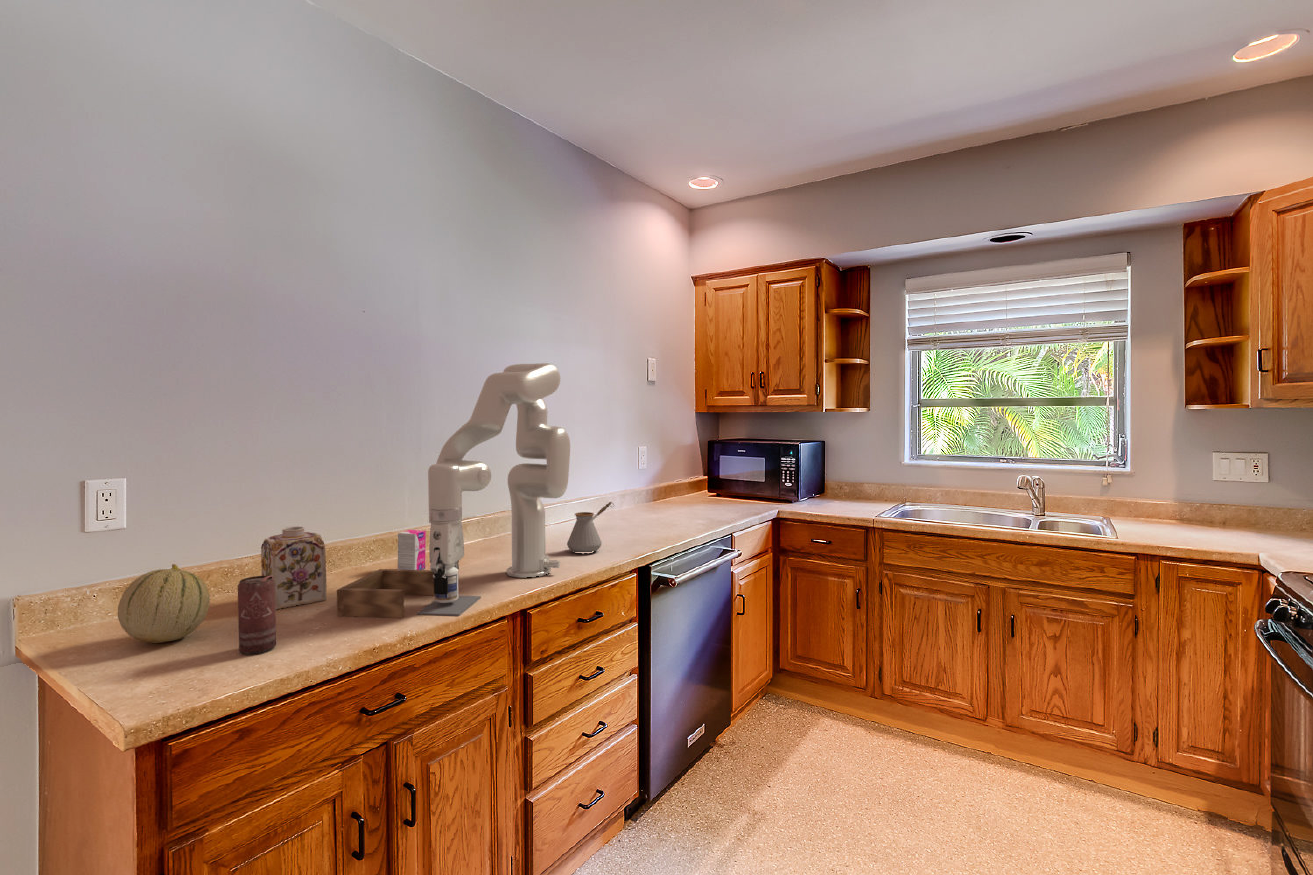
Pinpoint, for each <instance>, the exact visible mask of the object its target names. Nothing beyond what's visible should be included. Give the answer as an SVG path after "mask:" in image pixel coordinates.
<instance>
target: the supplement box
mask: <svg viewBox="0 0 1313 875" xmlns="http://www.w3.org/2000/svg"><path fill="white" fill-rule="evenodd" d="M426 532H427V530H419V529H418V530H417V529H408V530H404V531H401V532H400V531H399V532H397V570H426V541H427V540H426V538H427V537H426V536H427V533H426Z"/></svg>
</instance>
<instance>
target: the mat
mask: <svg viewBox="0 0 1313 875" xmlns="http://www.w3.org/2000/svg"><path fill="white" fill-rule="evenodd" d="M481 598H482V596H481V595H458V599H457V600H456V601H453V602H448V603H440V602H436V601H435V600H433V601H432V602H430V603H429V604H427V605H426V606H425V607H423V608H422V609H420V610H419V611H417V612H416V615H417V616H418V615H421V616H446V617H447V616H449V617H450V616H451V617H452V616H455V617H456V616H457V617H459V616H461V615H462V614H463V613H465V612H466V611H467V610H469V608H471V607H472V606H473V605H474V604H476V602H478V601H479V600H480V599H481Z"/></svg>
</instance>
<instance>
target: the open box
mask: <svg viewBox="0 0 1313 875" xmlns="http://www.w3.org/2000/svg"><path fill="white" fill-rule="evenodd" d="M405 595H406V596H407V595H410V596H411V595H413V596H435V594H434V578H433V573H432V570H431V569H430V570H429V569H428V570H427V569H422V570H398V569H397V568H396V569H393V568H391V569H388V568H385V569H384V568H380V569H378V570H375V571H374V572H371V573H369V574H367V575H365V576H363V577H360V578H359V579H357V580H355V581H352V582H350V583H348V584H346V585H344V586H342V587H340V588H338V589H336V615H337V617H354V616H357V617H359V618H360V617H361V618H366V617H367V618H390V619H391V618H394V619H395V618H396V619H402V618H403V617H404V616H405V604H404V603H405ZM357 617H356V618H357Z"/></svg>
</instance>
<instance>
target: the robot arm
mask: <svg viewBox="0 0 1313 875" xmlns="http://www.w3.org/2000/svg"><path fill="white" fill-rule="evenodd" d="M560 384H561V373H560V371H559V370H558V367H556V365H554V364H552V363H545V362H544V363H543V362H542V363H518V364H511V365H508V366H507V367H505V368H504V369H503V371H502V372H496V373H492V374H490V375H489V376H487V378H486V379H485V381H484V383H483V386H482V388H481V391H480V393H479V396H478V398H477V401H476V403H475V406H474V408H473V411H472V413H471V416H470V419H468V421H467V422H466V423H464V424H463V425H462V426H461V427H460V428H459V429H458V430H456V431H455V433H453V434H452V435H451V436H450V437H449V438H448V439H447V441H446V442H445V443H444V445H443V446H442V448H441V450H440V452H439V456H437V461H436V462H435V463H434V464H432V465H430V466H428V470H427V471H428V472H427V474H428V475H427V478H428V480H427V481H428V484H427V486H428V489H427V490H428V492H427V493H428V523H429V524H430V529H429V530H430V531H429V542H428V545H429V547H428V548H429V549H428V550H429V551H428V552H429V554H428V555H429V563H430V566H429V569H430V570H432V573H433V578H434V594H436V595H446V594H448V577H446V574H447V566H450V565H452V564H454V563H455V565H454V567H455V568H457V569H458V570H459V569H460V565H459V562H460V560H462V559H463V558H464V556H465V542H464V530H463V528H464V527H463V523H462V521H463V500H462V499H463V496H462V495H463V492H479V491H482V490H484V489H485V488H486V487H488V485H489V484H490V483H491V480H492V479H491V478H492V472H491V469H490V467H489V466H488V465H487V464H486V463H484V462H482V461H478V460H466V459H465V460H463V459H464V457H465V456H466V455H467V453H468V452H470V450H472V449H473V448H475V447H476V446H478V445H479V444H482V443H484V442H486V441H488V440H491V439H493V438H495V437H497V436H499V435H500V434H501V433H502V431H503V428H504V425H505V422H506V420H507V417H508V415H509V411H510V409H511V407H512V405H516V409H517V422H516V433H515V434H516V435H515V450H516V453H517V455H518V456H520V457H522V458H523V459H529V460H532V459H533V460H545V461H546V464H545V463H544V464H543V463H542V464H541V463H530V462H529V463H519V464H516V465H514V466H513V467H512V468H511V469H510V470H509V471H508V475H507V486H508V487H507V488H508V491H509V492H508V493H509V497H510V498H509V499H510V504H511V505H510V506H511V507H510V508H511V566H509V567H508V568H506V571H505V572H506V573H505V574H507V576H509V577H511V578H519V579H520V578H521V579H528V578H527V577H532V578H537V577H536V576H539V577H542V576H543V577H544V576H546V574H547V575H549V574H550V573H551V572H550V571H552V569H560V567H561V562H560V560H557V559H549V555H548V554H546V511H545V507H544V504H543V502H542V501H541V498H543V499H558V498H561V497H563V495H564V494H566V491H567V489H568V483H569V475H570V457H571V455H570V454H571V441H570V437H569V434H568V432H567V431H566V430H565V429H564V428H562V427H560V426H555V425H551V426H550V425H549V426H548V408H547V405H546V403H545V401H544V398H546V397H548V396H550V395H552V394H554V393H555V392H557V390H558V388H559V386H560ZM439 562H443V563H444V564H438V563H439ZM439 567H443V571H442V570H441V568H439ZM548 573H549V574H548ZM458 586H459V581H458Z"/></svg>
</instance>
